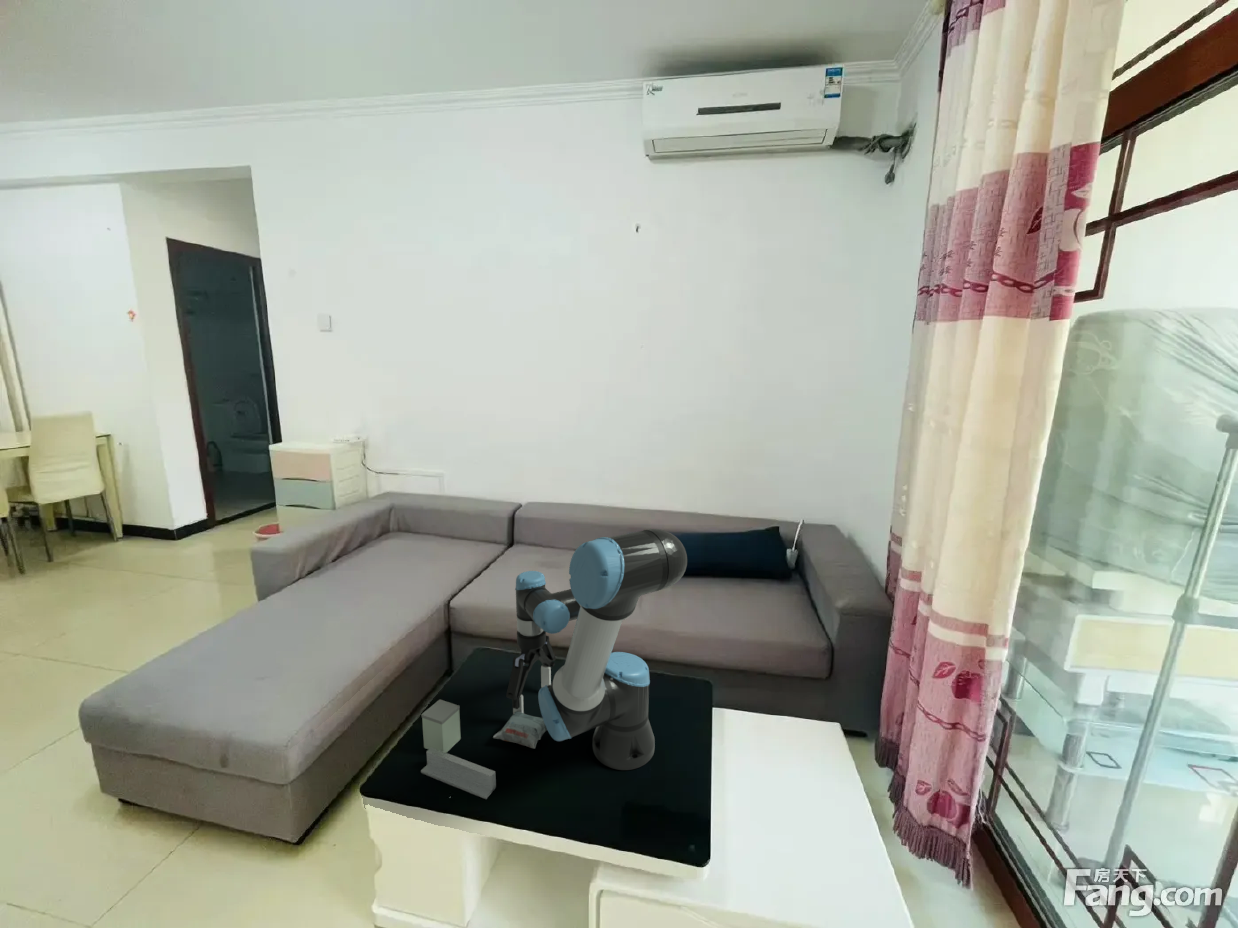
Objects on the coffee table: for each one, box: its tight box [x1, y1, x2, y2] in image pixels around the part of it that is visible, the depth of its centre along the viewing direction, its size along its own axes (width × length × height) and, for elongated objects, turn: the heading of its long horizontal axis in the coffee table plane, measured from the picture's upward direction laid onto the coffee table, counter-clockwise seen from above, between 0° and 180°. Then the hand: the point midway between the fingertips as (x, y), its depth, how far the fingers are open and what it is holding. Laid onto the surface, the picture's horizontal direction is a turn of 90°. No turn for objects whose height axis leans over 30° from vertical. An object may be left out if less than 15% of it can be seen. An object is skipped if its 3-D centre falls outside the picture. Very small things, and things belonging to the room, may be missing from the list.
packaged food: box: [492, 711, 548, 749], centre depth 126 cm, size 9×12×5 cm
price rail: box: [420, 747, 497, 800], centre depth 114 cm, size 18×4×4 cm, turn 67°
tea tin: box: [420, 699, 462, 753], centre depth 124 cm, size 6×6×9 cm
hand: (532, 701), depth 138 cm, fingers open, 13 cm apart
